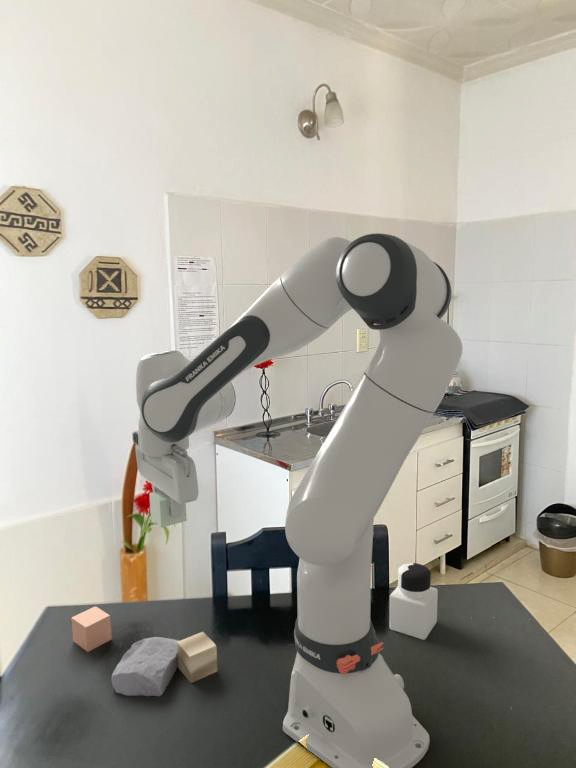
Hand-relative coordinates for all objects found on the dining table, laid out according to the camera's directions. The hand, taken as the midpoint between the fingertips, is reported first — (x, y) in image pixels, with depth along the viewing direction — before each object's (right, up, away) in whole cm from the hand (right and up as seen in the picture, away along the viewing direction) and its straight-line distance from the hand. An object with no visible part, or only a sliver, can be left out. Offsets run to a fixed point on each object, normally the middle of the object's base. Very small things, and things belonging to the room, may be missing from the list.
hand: (168, 511), depth 107 cm
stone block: (-2, -26, -8) cm, 28 cm away
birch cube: (+7, -26, -8) cm, 28 cm away
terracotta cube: (-15, -25, +1) cm, 29 cm away
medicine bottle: (+46, -23, +4) cm, 52 cm away
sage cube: (0, -2, 0) cm, 2 cm away
